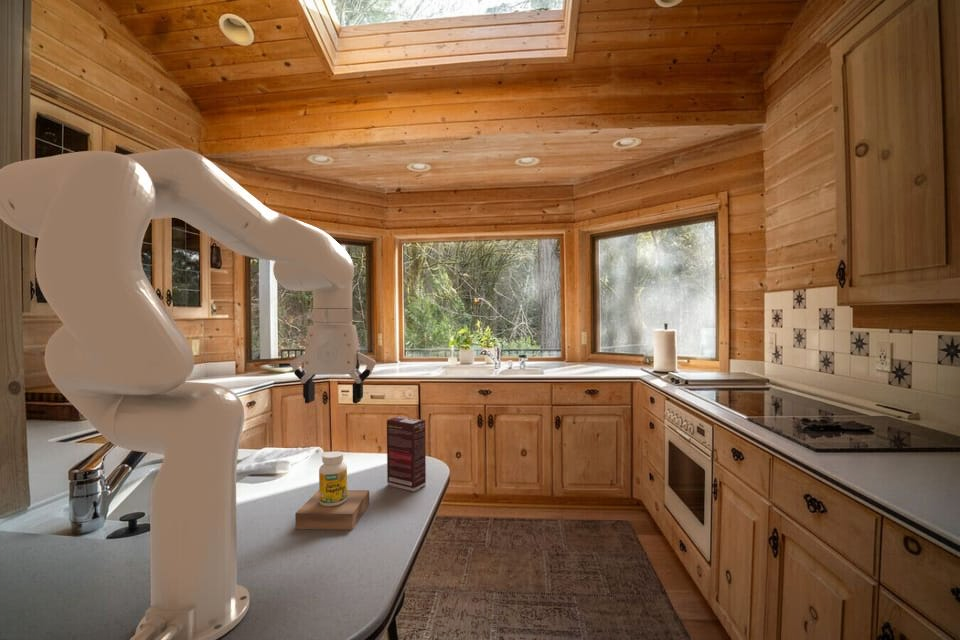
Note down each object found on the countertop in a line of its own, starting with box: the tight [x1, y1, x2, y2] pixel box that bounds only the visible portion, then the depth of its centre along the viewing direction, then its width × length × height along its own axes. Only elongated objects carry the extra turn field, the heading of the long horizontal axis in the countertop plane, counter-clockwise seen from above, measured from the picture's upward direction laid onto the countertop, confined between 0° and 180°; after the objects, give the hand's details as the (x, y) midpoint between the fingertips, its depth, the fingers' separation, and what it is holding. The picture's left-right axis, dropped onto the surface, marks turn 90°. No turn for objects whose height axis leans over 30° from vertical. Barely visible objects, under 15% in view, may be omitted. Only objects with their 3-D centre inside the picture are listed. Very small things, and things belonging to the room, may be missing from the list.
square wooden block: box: [294, 489, 370, 531], centre depth 86 cm, size 11×11×3 cm
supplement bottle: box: [318, 451, 348, 506], centre depth 86 cm, size 5×5×10 cm
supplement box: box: [386, 415, 427, 492], centre depth 102 cm, size 9×5×16 cm, turn 59°
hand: (333, 402), depth 86 cm, fingers open, 9 cm apart
